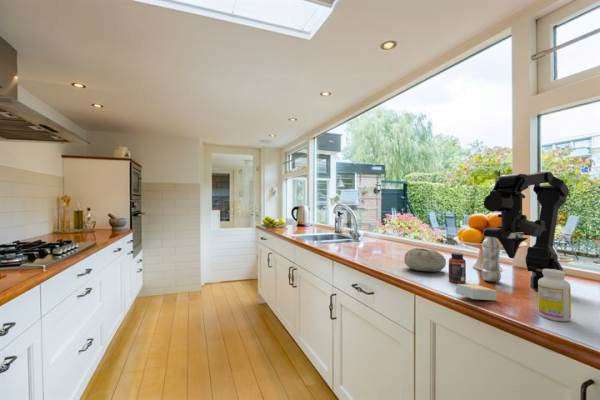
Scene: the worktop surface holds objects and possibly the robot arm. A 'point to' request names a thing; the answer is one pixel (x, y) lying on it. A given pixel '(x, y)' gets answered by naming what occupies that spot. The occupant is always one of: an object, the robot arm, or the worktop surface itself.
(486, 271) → the stone figurine
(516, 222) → the robot arm
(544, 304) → the supplement bottle
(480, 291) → the white rectangular block
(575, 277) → the worktop surface
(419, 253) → the smooth grey pebble
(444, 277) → the worktop surface
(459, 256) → the supplement bottle
